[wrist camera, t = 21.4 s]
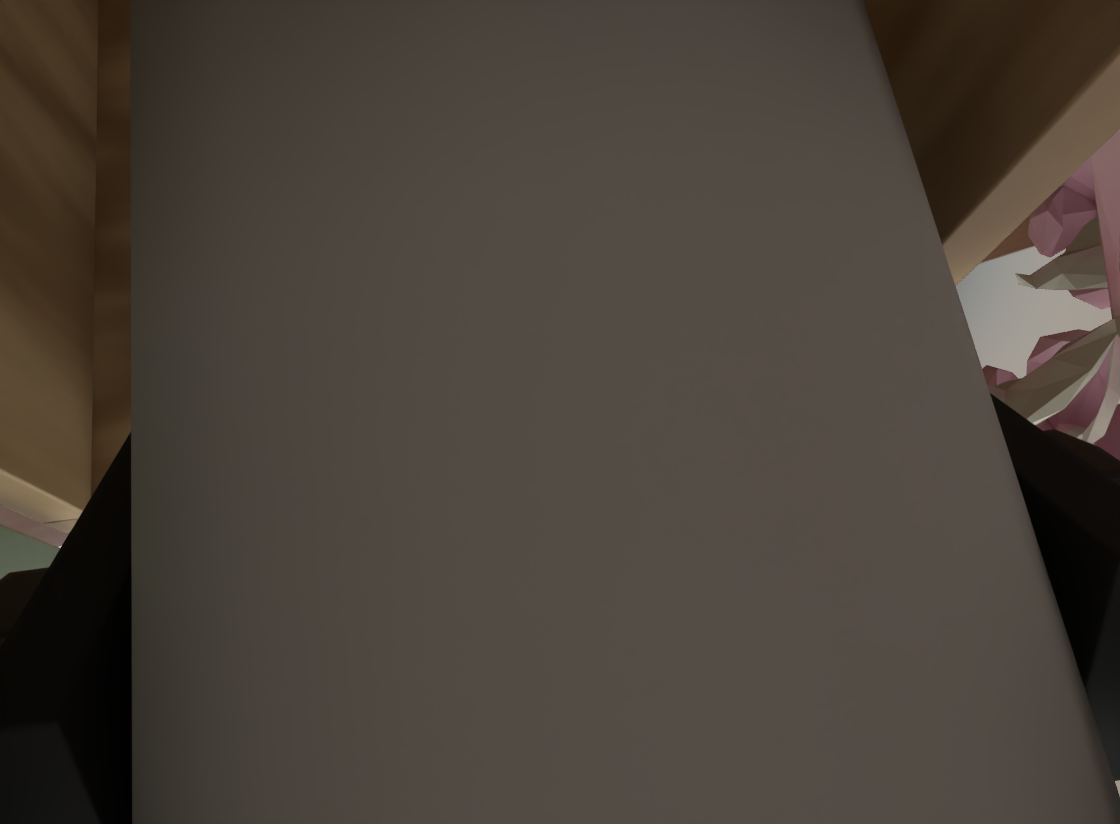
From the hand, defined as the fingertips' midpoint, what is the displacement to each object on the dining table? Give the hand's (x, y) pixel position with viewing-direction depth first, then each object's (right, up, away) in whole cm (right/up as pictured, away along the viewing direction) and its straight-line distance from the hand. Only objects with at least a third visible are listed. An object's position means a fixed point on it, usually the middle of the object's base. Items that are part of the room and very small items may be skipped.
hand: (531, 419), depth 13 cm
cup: (0, +5, -2) cm, 5 cm away
